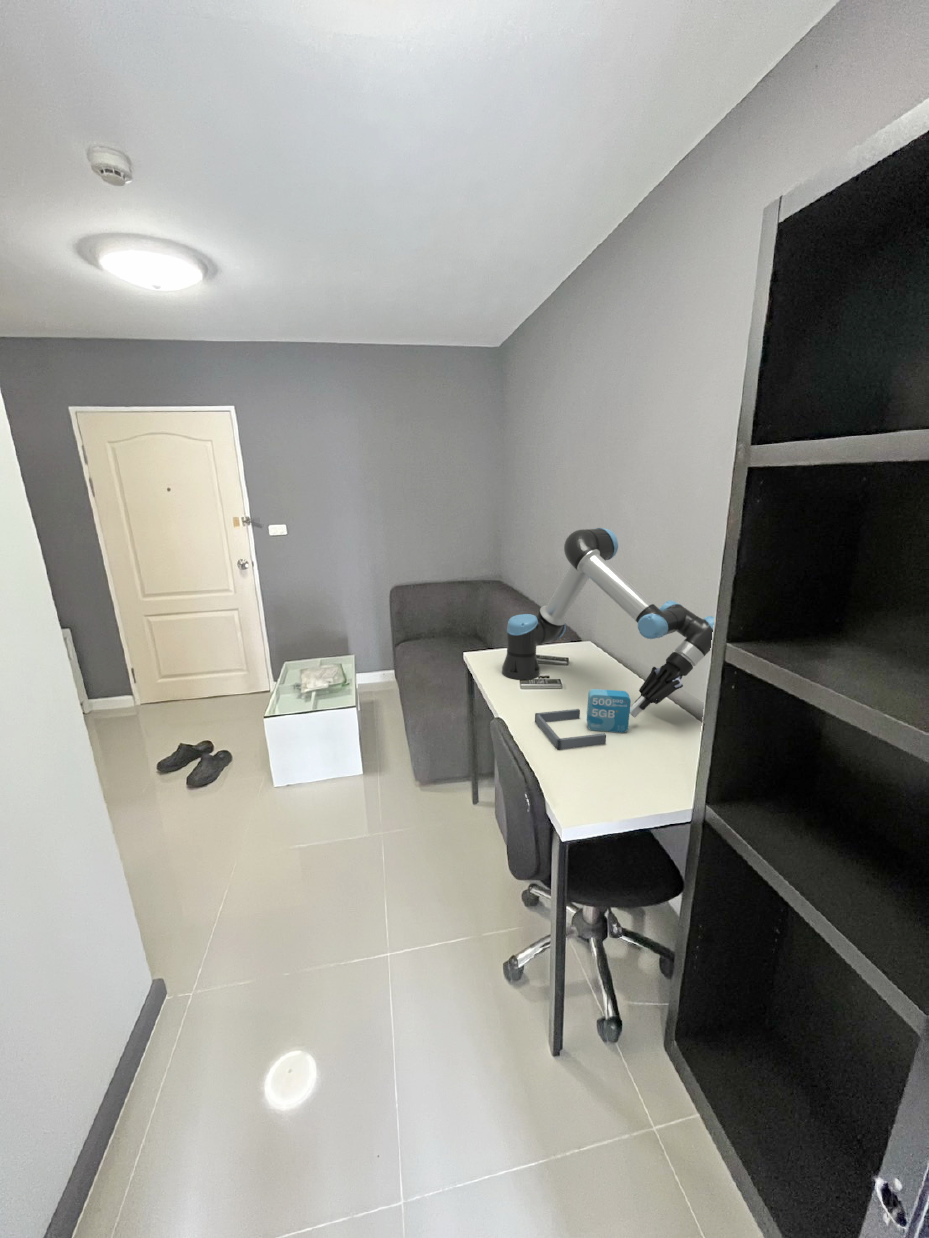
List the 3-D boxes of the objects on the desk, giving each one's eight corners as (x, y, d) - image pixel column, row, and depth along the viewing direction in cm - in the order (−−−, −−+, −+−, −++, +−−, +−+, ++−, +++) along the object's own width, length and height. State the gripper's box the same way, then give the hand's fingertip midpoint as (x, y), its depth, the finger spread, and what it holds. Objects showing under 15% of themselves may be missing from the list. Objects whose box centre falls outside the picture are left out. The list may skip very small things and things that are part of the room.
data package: (587, 730, 150) (589, 694, 146) (586, 723, 154) (588, 688, 151) (627, 733, 148) (631, 696, 145) (625, 726, 152) (628, 690, 149)
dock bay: (534, 721, 155) (535, 713, 154) (578, 717, 158) (578, 708, 157) (557, 750, 138) (558, 740, 137) (605, 744, 141) (606, 734, 140)
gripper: (704, 673, 145) (650, 730, 146) (676, 659, 157) (626, 712, 158) (691, 658, 142) (636, 716, 143) (664, 645, 155) (613, 698, 155)
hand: (631, 714), depth 150 cm, fingers closed
